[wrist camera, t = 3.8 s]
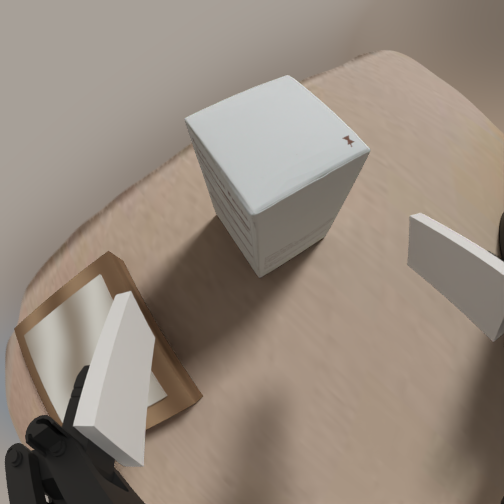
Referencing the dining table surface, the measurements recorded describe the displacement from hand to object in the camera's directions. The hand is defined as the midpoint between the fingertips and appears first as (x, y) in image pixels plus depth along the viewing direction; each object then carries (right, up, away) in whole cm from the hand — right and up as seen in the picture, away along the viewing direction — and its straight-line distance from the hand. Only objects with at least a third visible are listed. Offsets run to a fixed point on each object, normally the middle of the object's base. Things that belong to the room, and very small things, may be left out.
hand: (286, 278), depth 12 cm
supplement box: (0, +3, +13) cm, 14 cm away
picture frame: (-15, -9, +10) cm, 20 cm away
